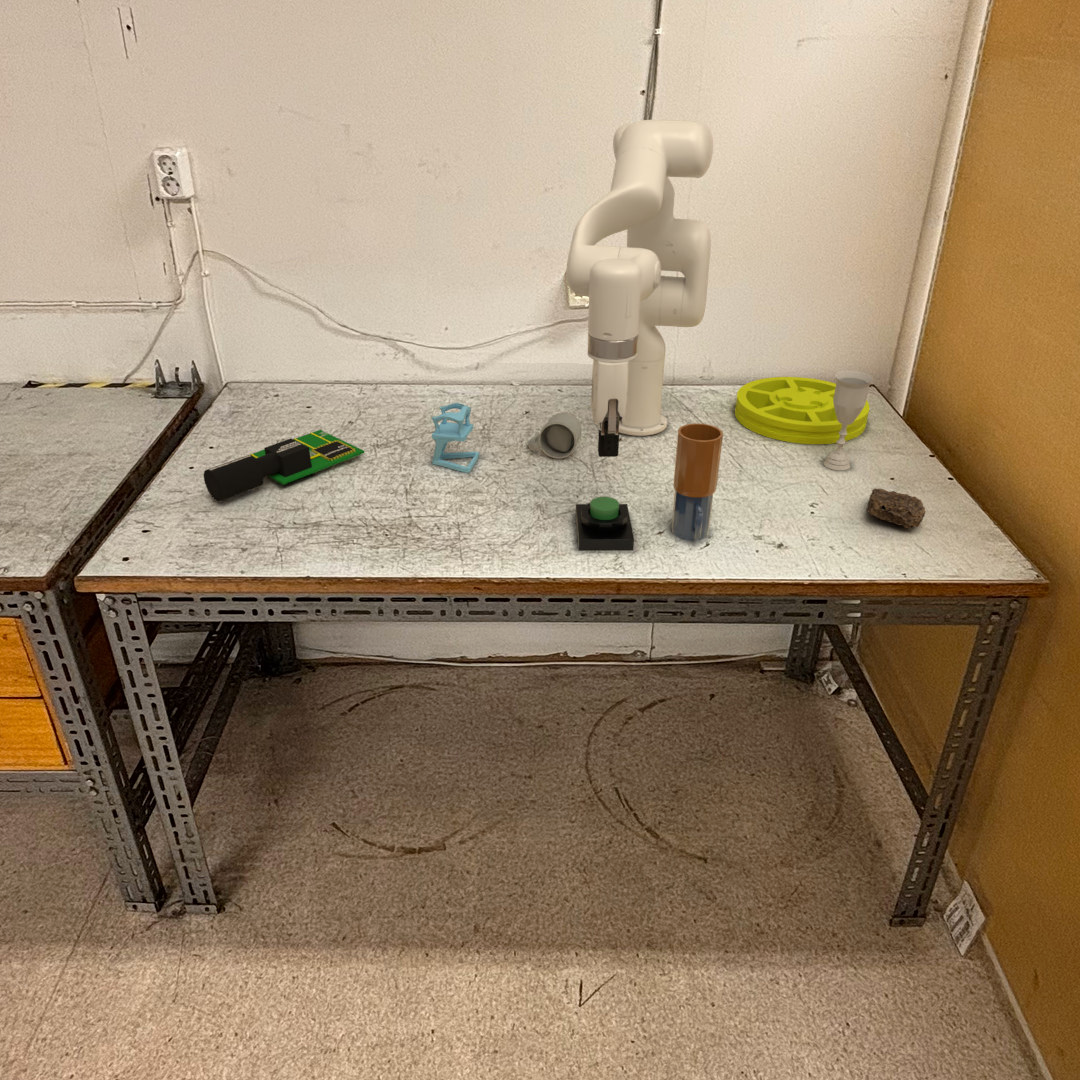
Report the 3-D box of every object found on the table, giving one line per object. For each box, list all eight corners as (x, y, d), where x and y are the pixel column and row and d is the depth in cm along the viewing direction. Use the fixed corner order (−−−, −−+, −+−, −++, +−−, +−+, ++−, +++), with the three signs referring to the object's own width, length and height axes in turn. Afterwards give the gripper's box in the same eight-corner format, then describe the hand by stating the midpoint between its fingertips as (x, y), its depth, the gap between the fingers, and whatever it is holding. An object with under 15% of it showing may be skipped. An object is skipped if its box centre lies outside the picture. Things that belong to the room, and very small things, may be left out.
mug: (668, 523, 150) (672, 479, 145) (704, 522, 150) (709, 478, 146) (677, 550, 142) (682, 504, 138) (715, 549, 142) (720, 504, 138)
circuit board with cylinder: (316, 406, 177) (361, 426, 168) (321, 437, 180) (365, 458, 172) (179, 452, 158) (221, 477, 149) (187, 485, 162) (229, 512, 153)
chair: (440, 452, 174) (436, 396, 168) (479, 456, 173) (477, 399, 166) (428, 469, 168) (423, 411, 161) (469, 473, 166) (466, 415, 160)
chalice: (856, 474, 166) (875, 385, 156) (820, 471, 167) (836, 382, 157) (852, 458, 172) (870, 371, 162) (817, 455, 173) (833, 369, 164)
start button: (619, 520, 143) (620, 510, 142) (590, 521, 143) (591, 510, 142) (617, 506, 147) (617, 496, 146) (589, 507, 147) (589, 496, 146)
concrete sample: (916, 540, 145) (923, 514, 142) (855, 524, 149) (860, 498, 147) (929, 511, 153) (936, 486, 150) (871, 497, 158) (877, 472, 155)
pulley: (890, 439, 179) (895, 417, 177) (763, 448, 176) (766, 426, 173) (830, 390, 203) (834, 370, 200) (717, 397, 199) (719, 377, 196)
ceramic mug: (583, 443, 177) (583, 408, 173) (575, 460, 171) (576, 424, 167) (532, 440, 179) (531, 405, 175) (523, 456, 173) (522, 421, 169)
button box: (633, 550, 142) (634, 529, 140) (578, 551, 142) (579, 530, 140) (626, 514, 152) (627, 494, 150) (575, 515, 152) (576, 495, 150)
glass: (667, 491, 141) (672, 436, 136) (681, 474, 147) (686, 420, 142) (708, 501, 139) (714, 444, 134) (721, 483, 144) (728, 428, 139)
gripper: (585, 329, 137) (582, 435, 146) (590, 363, 124) (587, 476, 134) (632, 329, 137) (626, 434, 146) (642, 362, 124) (635, 475, 134)
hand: (607, 454), depth 140 cm, fingers closed
